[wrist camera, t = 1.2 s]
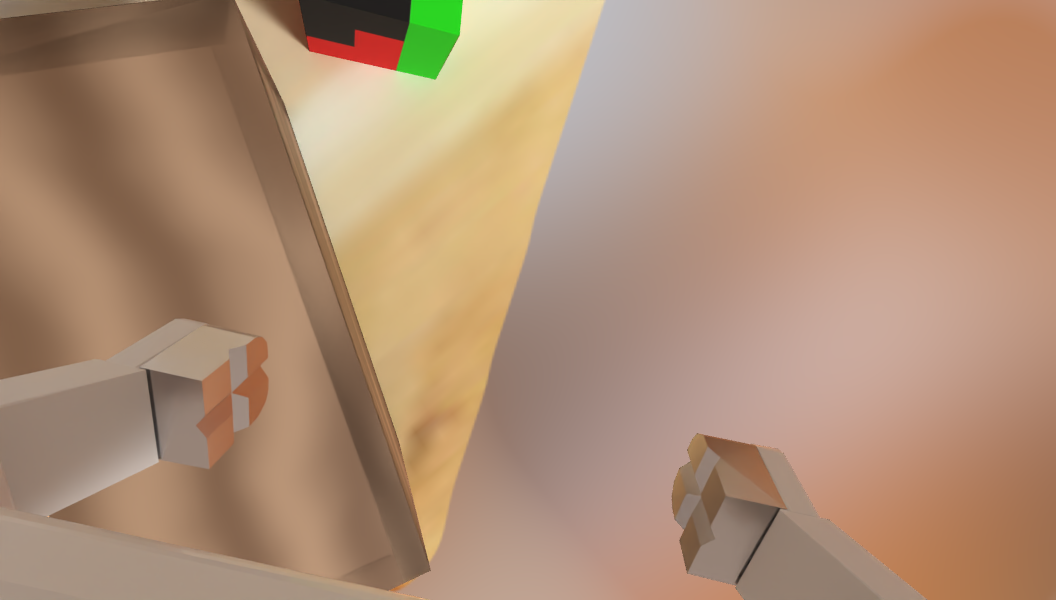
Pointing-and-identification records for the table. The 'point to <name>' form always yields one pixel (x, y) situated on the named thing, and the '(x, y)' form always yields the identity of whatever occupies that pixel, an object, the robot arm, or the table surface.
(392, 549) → the brown wooden box
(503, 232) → the table surface
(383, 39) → the puzzle toy
